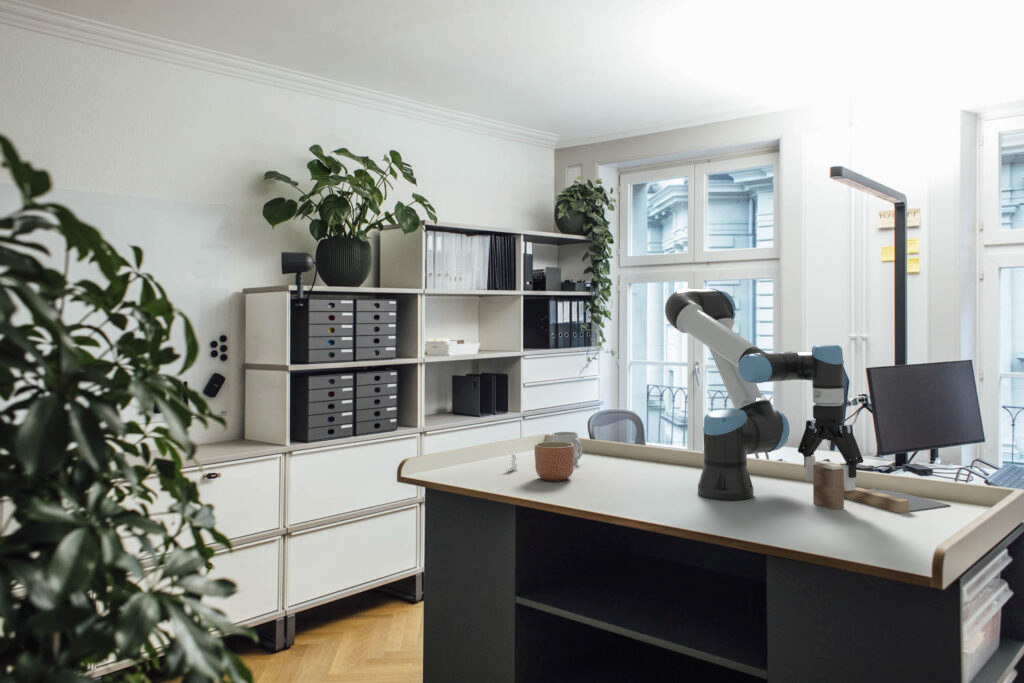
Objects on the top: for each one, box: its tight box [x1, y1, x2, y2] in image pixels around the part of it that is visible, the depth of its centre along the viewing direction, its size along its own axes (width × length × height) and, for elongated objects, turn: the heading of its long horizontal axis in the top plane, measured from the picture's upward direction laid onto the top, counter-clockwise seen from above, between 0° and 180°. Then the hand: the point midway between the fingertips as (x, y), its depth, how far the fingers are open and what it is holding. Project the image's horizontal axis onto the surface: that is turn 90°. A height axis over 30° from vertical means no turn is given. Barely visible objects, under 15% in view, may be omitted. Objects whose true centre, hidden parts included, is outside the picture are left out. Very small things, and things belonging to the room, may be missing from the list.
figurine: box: [506, 453, 518, 473], centre depth 251 cm, size 8×8×6 cm
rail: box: [844, 486, 909, 514], centre depth 201 cm, size 22×3×3 cm, turn 21°
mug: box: [551, 431, 584, 465], centre depth 264 cm, size 11×10×10 cm
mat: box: [867, 488, 951, 513], centre depth 204 cm, size 22×14×1 cm, turn 21°
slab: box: [812, 460, 845, 511], centre depth 198 cm, size 7×4×11 cm, turn 21°
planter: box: [533, 440, 575, 482], centre depth 237 cm, size 12×12×11 cm
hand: (829, 485), depth 198 cm, fingers open, 13 cm apart
